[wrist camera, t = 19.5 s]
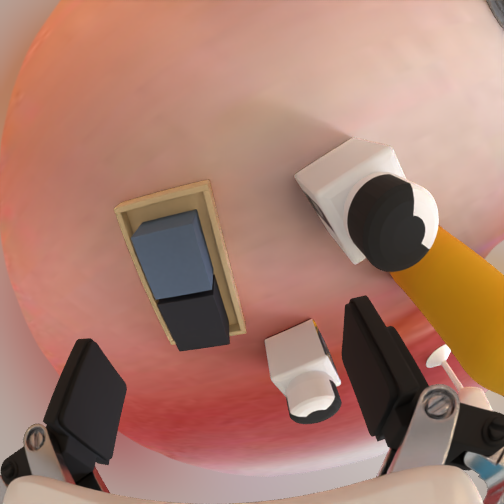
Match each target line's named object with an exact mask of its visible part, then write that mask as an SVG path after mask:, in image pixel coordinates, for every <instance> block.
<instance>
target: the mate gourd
mask: <svg viewBox="0 0 504 504" xmlns="http://www.w3.org/2000/svg"><path fill="white" fill-rule="evenodd" d="M487 3H488V5H489V7H490V9H491V11H492V12H493V14H494V16H495V18H496V19H497V21H498V22H499V24H500V25H501V26H502V28H503V29H504V0H487Z"/></svg>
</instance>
